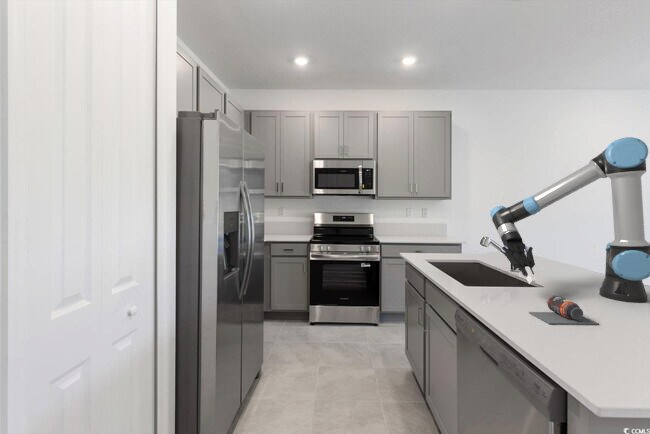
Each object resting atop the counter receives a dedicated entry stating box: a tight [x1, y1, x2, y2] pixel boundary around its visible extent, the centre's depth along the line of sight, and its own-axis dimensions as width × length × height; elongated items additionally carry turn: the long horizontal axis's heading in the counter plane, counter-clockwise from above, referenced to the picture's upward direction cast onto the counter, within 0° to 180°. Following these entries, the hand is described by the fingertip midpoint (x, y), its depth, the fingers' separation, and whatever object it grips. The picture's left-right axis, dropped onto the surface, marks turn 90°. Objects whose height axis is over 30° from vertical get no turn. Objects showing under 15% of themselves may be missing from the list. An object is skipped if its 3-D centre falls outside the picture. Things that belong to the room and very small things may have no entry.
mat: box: [528, 311, 600, 326], centre depth 113 cm, size 16×11×1 cm
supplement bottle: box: [546, 295, 584, 319], centre depth 113 cm, size 6×6×11 cm
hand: (532, 282), depth 129 cm, fingers closed
